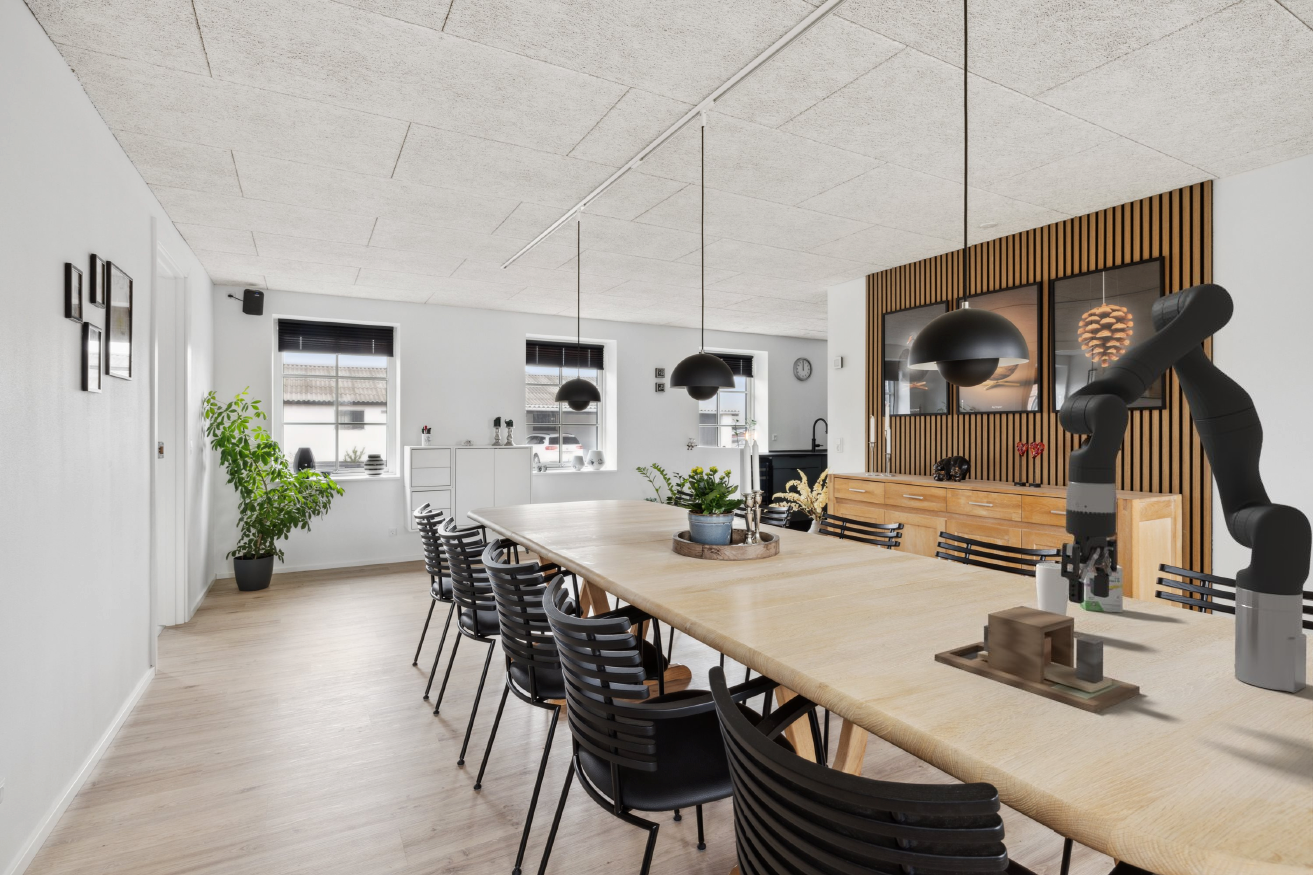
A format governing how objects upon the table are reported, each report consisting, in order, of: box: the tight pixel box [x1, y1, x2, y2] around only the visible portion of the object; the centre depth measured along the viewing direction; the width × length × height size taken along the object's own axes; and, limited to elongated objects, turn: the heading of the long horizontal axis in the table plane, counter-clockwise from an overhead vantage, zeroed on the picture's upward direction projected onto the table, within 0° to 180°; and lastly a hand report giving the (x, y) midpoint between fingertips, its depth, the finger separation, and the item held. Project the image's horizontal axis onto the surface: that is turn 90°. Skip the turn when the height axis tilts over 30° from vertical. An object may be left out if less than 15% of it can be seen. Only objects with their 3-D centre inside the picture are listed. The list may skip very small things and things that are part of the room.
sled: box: [978, 624, 1113, 693], centre depth 127 cm, size 21×7×8 cm, turn 32°
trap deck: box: [934, 605, 1141, 714], centre depth 129 cm, size 30×16×11 cm, turn 32°
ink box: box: [1079, 564, 1124, 613], centre depth 177 cm, size 9×5×12 cm, turn 73°
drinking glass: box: [1035, 562, 1070, 616], centre depth 159 cm, size 7×7×15 cm
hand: (1089, 599), depth 120 cm, fingers open, 8 cm apart
